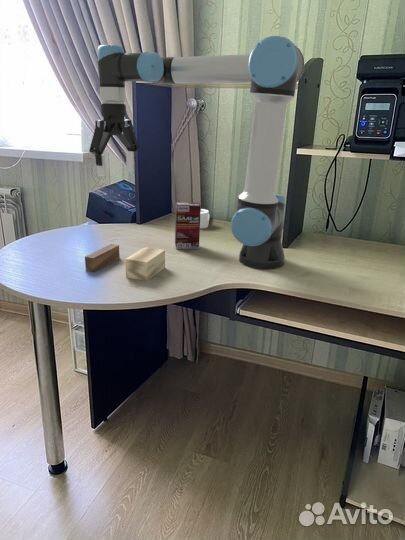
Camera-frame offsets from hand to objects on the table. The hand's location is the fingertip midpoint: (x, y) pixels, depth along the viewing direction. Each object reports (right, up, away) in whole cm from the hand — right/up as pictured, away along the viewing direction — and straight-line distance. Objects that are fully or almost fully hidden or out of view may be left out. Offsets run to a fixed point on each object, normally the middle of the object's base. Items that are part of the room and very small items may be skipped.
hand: (116, 173), depth 135 cm
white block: (+26, -10, +50) cm, 57 cm away
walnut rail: (-4, -29, -2) cm, 29 cm away
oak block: (+10, -32, -7) cm, 34 cm away
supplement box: (+22, -23, +17) cm, 36 cm away
